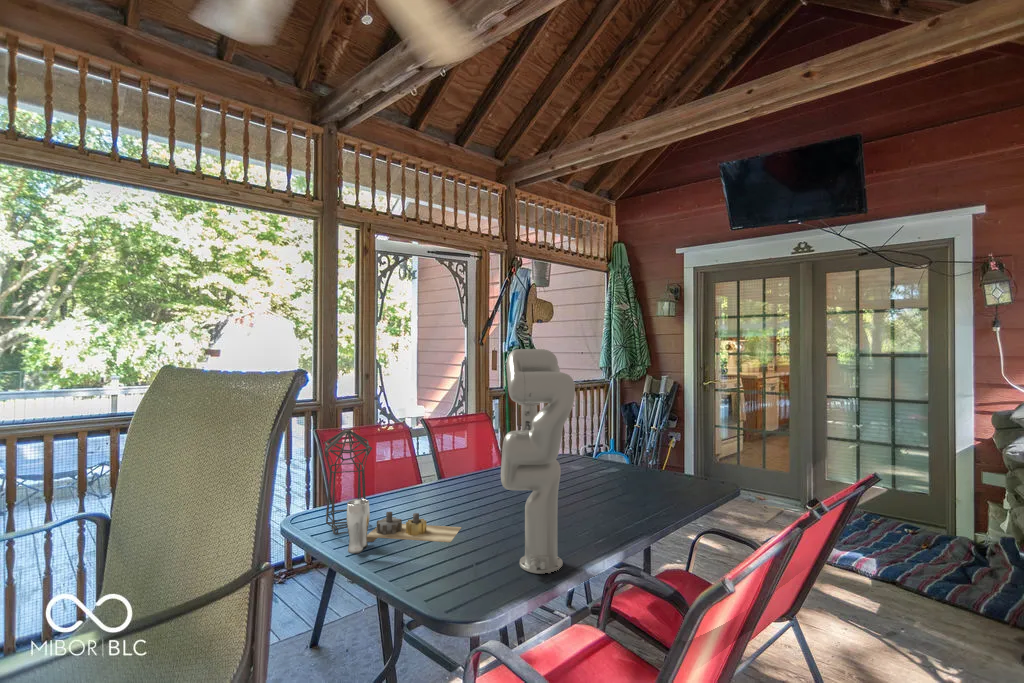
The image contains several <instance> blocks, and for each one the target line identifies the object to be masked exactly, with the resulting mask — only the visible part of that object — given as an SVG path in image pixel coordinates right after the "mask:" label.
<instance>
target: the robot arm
mask: <svg viewBox="0 0 1024 683" xmlns="http://www.w3.org/2000/svg"><path fill="white" fill-rule="evenodd" d="M558 364H559V362H558V358H557V356H556V355H555V353H553V352H552V351H551V350H548V349H543V348H540V349H539V348H520V349H519V348H516V349H513V350H512V351H511V352H509V355H508V357H507V360H506V378H507V379H506V380H507V388H508V390H507V391H508V395H509V398H510V399H511V401H513V402H514V403H517V404H518V406H521V430H510V431H508V432H507V433H506V434H505V436H504V437H503V442H502V450H501V463H500V482H501V485H502V487H503V488H504V489H505V490H506V491H507V490H509V491H532V492H531V493H530V494H529V496H528V497H527V499H526V501H525V505H524V555H523V556H522V557H520V559H519V566H520V568H521V569H522V570H524V571H525V572H528V573H531V574H537V575H539V574H540V575H543V574H544V575H546V574H545V573H548V574H552V573H551V572H554V571H556V572H558V571H560V570H561V569H562V568H563V567H562V566H564V563H563V559H562V558H560V557H559V556H558V511H559V510H558V504H559V503H558V502H559V500H558V499H559V498H558V497H559V487H560V482H561V475H562V474H561V472H562V471H561V464H560V462H559V461H558V460H557V458H558V456H559V453H560V448H561V442H562V436H563V430H564V426H565V424H566V423H567V422H566V421H567V420H568V419H569V416H570V414H571V411H572V409H573V406H574V402H575V398H576V397H575V396H576V384H575V381H574V379H573V377H572V376H571V375H569V374H567V373H565V372H561V370H560V366H559V365H558ZM540 404H546V405H545V406H544V407H543V408H541V409H540V410H539V411H538V406H540ZM561 567H562V568H561ZM560 568H561V569H560ZM559 569H560V570H559ZM557 570H558V571H557ZM554 573H555V572H554Z"/></svg>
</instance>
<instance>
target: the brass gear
mask: <svg viewBox="0 0 1024 683" xmlns="http://www.w3.org/2000/svg"><path fill="white" fill-rule="evenodd" d="M405 524H406V533H408V535H415V536H417V535H419V534H425V532H426V525H427V520H425V518H419V523H413V518H412V519H411V518H410V519H407V521H406V522H405Z"/></svg>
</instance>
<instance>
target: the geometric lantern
mask: <svg viewBox="0 0 1024 683" xmlns="http://www.w3.org/2000/svg"><path fill="white" fill-rule="evenodd" d="M344 436H345V438H344V440H343V442H341V439H342V438H343V437H344ZM352 437H354V439H356V440H355V441H353V438H352ZM347 438H348V441H347ZM356 443H358V444H357V445H355V446H354V447H353V445H354V444H356ZM322 444H324V446H325V447H324V449H323V450H324V457H325V458H326V462H327V465H328V470H329V477H328V479H329V480H328V491H327V501H326V502H327V503H326V512H325V523H326V525H328V526H329V527H330V528H331V529H332V534H334V535H340V534H341V535H342V534H349V532H348V531H342V532H341V531H340V532H339V529H344V528H345V529H346V528H347V529H348V527H347V517H346V518H340V519H335V513H338V512H339V513H340V512H347V508H346V509H337V510H336V509H335V503H336V502H335V500H336V498H335V496H336V494H335V493H336V478H337V477H336V475H337V474H338V473H339V474H342V473H356V472H357V473H358V475H357V477H358V478H357V499H366V476H365V474H366V473H365V471H366V470H365V468H366V465H367V460H368V456H369V455H370V453H371V451H372V450H373V447H372V446H371V445H370V444H369V440H368V439H366V438H365V437H364V436H361V435H359V434H357V433H355V432H354V431H352V430H351V429H344V430H342V431H340V432H338V433H337V434H336V435H333V436H332V437H330V438H329V439H327V440H325V441H323V442H322ZM337 444H339V445H342V447H340V446H338V445H337ZM346 444H348V445H349V449H345V445H346ZM360 445H362V446H363V447H365V448H362V449H356V448H358V447H359V446H360ZM334 447H336V448H337V449H333V448H334ZM355 449H356V450H355ZM336 452H337V453H336ZM356 452H359V453H357V454H356ZM329 453H332V454H333V455H334V456H336V457H337V458H336V460H335V462H334V463H333V460H332V457H331V454H329ZM338 453H339V454H338ZM352 453H353V455H354V456H352ZM343 454H349V456H350V457H348V458H344V457H343ZM362 454H364V455H363V458H362V460H361V461H360V459H359V456H361V455H362ZM328 457H329V458H328ZM355 458H356V459H357V460H358V462H355V460H354V459H355ZM329 459H330V460H329ZM339 459H340V460H341V462H340V463H337V462H338V461H339ZM348 460H349V461H350V460H351V461H352V462H350V463H348V462H347V463H346V462H345V463H343V462H344V461H348ZM330 462H331V465H330ZM357 464H358V465H357ZM342 465H344V466H345V465H354V466H355V468H356V469H357V470H347V471H338V469H339V468H340V467H341V466H342ZM333 467H334V471H333ZM332 477H333V482H332ZM361 481H362V482H361ZM332 483H333V484H332ZM361 483H362V484H361ZM361 486H362V487H361ZM331 489H332V498H331ZM361 490H362V492H361ZM366 500H367V499H366ZM330 501H331V510H330ZM329 510H330V511H329ZM329 514H331V516H332V518H331V516H330V515H329ZM329 519H330V521H331V522H330V521H329Z"/></svg>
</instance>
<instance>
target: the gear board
mask: <svg viewBox="0 0 1024 683" xmlns="http://www.w3.org/2000/svg"><path fill="white" fill-rule="evenodd" d="M412 519H413V523H419V519H420V513H419V512H415V513H413V514H412ZM402 521H403V519H402V518H396V517H394V516H393V511H386V516H385V517H384V518H382V519H379V520H377V521H376V527H375V528H374V529H373V530H371V531H370V532H368V533H367V543H368V542H369V543H370V542H371V543H374V542H375V541H376V540H377V539H378V538H379V539H392V540H409V541H411V540H412V541H424V542H437V543H440V542H441V543H451V542H452V541H453V540H454V539H455V537H456V536H457V534H458V533H459V531H460V530H461V529H462V527H460V526H448V525H447V526H445V525H444V526H443V525H429V524H426V532H425V534H419V535H417V536H415V535H408V533H406V523H403V522H402Z"/></svg>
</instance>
